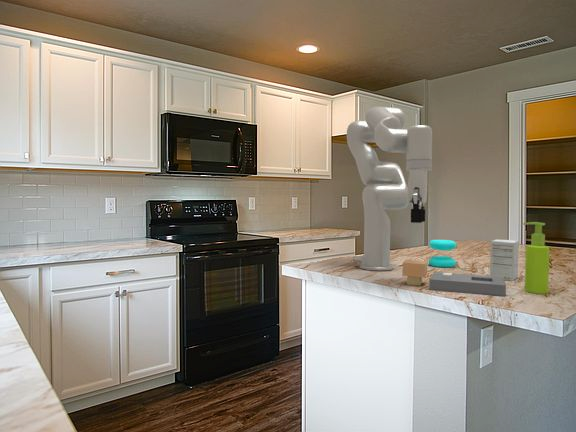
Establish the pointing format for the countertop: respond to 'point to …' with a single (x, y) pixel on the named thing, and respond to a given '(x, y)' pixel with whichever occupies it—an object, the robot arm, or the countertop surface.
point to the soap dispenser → (537, 262)
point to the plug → (414, 271)
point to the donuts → (442, 260)
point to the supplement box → (504, 259)
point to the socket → (468, 283)
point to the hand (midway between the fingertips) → (418, 222)
